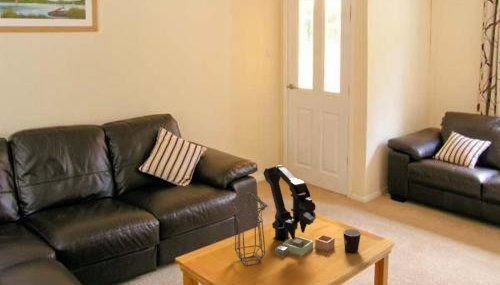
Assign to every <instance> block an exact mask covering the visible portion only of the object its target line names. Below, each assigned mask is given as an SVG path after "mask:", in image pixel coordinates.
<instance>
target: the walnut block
mask: <svg viewBox="0 0 500 285" xmlns="http://www.w3.org/2000/svg"><path fill="white" fill-rule="evenodd" d="M292 246H295V247H299V248H302V247H303V241H302V240H299V239H296V240H294V241H293V242H292Z"/></svg>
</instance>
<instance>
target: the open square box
mask: <svg viewBox="0 0 500 285" xmlns="http://www.w3.org/2000/svg"><path fill="white" fill-rule="evenodd" d="M335 241H336V240H335V237H333V236H329V235H326V234H321V235H319V236H318V237H316V238H315V240H314V242H315V243H314V249H315V250H316V249H317V250H320V251H323V252H326V253H328V252H329V251H331V250H333V248H335Z"/></svg>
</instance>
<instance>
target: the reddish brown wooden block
mask: <svg viewBox="0 0 500 285" xmlns="http://www.w3.org/2000/svg"><path fill="white" fill-rule="evenodd" d="M274 250H275V251H274V254H275V255H278V256H281V257H286V256H287V255H288V254H289V252H288V247H285V246H283V245H281V244H279V245H277V246H275V248H274Z"/></svg>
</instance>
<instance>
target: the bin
mask: <svg viewBox="0 0 500 285" xmlns="http://www.w3.org/2000/svg"><path fill="white" fill-rule="evenodd" d="M296 239H299V240H302V241H303V247H302V248H299V247H295V246H292V242H293V241H294V240H296ZM282 246H285V247H288V254H293V255H295V256H299V257H303V256H304V255H305V254H308V252H310V251H311V250H312V249H314V241H313V240H311V239H307V238H303V237H300V236H297V235H295V238H294V239H292V237H290V238H288V239H287V240H285V241H283V242H282Z"/></svg>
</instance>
